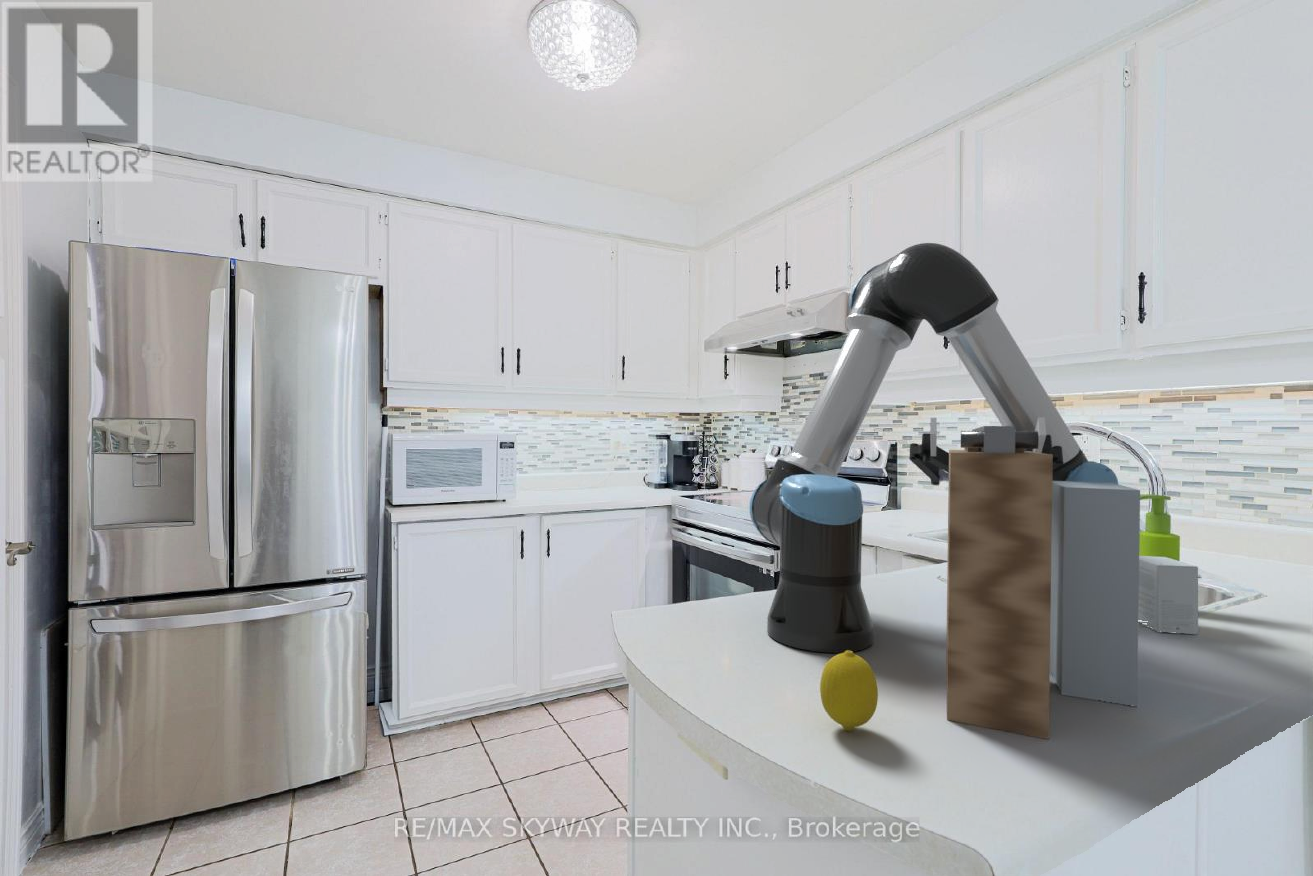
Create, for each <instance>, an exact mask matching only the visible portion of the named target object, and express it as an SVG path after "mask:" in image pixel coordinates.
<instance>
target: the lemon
mask: <svg viewBox="0 0 1313 876" xmlns="http://www.w3.org/2000/svg"><path fill="white" fill-rule="evenodd" d="M819 684H820V685H819V689H820V690H819V692H820V698H821V703H822V706H823V709H824V711H825V712H826V714H827V715H828V717H830V719H832V720H833V721H834V722H835V723H836V724H839V725H841V727H843V729H844V730H846V731H849V732H850V731H852V730H853V729H855V728H857V727H862V726H863V725H865V724H867V723H868V722H869V721H870V720H871V719H872V717H873V716H874V714H875V712H876V709H877V706H878V700H879V699H878V697H879V693H878V691H879V690H878V682H877V679H876V675H875V672H874V670H873V669H872V667H871V665H870V664H869V663H868V662H867V661H866V660H865V659H864V658H862V657H861V656H860V655H857V654H855V653H854V651H849V650H847V651H845V652H840V653H838V654H836V655H834V656H832V657H831V658H830V659H829V660H828V661H827V662H826V664H825V665H824V668H823V669H822V673H821V677H820V683H819Z"/></svg>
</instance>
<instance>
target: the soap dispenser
mask: <svg viewBox="0 0 1313 876" xmlns="http://www.w3.org/2000/svg"><path fill="white" fill-rule="evenodd" d="M1171 498H1172V497H1171V496H1167V495H1159V494H1147V493H1145V494H1144V493H1143V494H1140V501H1141V500H1150V499H1151V511H1149V512H1146V513H1145V526H1144V527H1145V528H1144V529H1145V531H1144V530H1143V531H1141V530H1140V538H1139V556H1152V557H1167V558H1170V559H1174V560H1177V561H1180V562H1181V560H1180V557H1181V555H1180V550H1181V548H1180V547H1181V546H1180V545H1181V536H1180V535H1178V534H1174V533H1171V526H1172V525H1171V519H1172V518H1171V517H1172V516H1171V515H1170V514H1168V513H1167V512H1165V501H1171Z"/></svg>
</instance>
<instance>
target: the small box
mask: <svg viewBox="0 0 1313 876" xmlns="http://www.w3.org/2000/svg"><path fill="white" fill-rule="evenodd" d="M1138 620H1142V621H1148V622H1141V623H1147V626H1149V627H1152V628H1153V629H1154V630H1156V631H1159V632H1158V633H1162V632H1176V633H1175V634H1180V633H1185V634H1184V635H1186V634H1187V635H1199V567H1198V566H1197V565H1193V564H1190V563H1186V562H1184V561H1181V560H1180V561H1177V560H1174V559H1170V558H1167V557H1152V556H1139V605H1138ZM1154 630H1153V631H1154ZM1156 631H1155V632H1156ZM1160 631H1161V632H1160Z"/></svg>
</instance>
